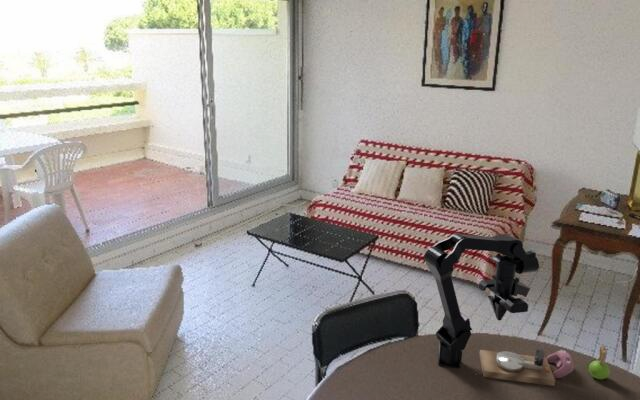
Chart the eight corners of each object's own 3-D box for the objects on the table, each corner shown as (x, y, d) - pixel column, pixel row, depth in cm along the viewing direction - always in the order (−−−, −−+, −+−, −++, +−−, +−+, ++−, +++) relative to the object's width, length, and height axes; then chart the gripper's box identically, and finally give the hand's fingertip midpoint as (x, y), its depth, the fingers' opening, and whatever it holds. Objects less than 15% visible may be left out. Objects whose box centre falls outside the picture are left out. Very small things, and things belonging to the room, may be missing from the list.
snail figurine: (589, 382, 150) (595, 346, 147) (586, 370, 156) (593, 336, 153) (609, 386, 148) (616, 350, 145) (606, 374, 154) (613, 339, 151)
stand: (483, 376, 151) (484, 369, 151) (479, 355, 163) (480, 348, 162) (554, 386, 148) (555, 378, 147) (544, 363, 159) (545, 356, 158)
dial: (496, 369, 151) (498, 350, 150) (495, 355, 159) (497, 337, 157) (543, 377, 148) (546, 358, 146) (540, 362, 155) (543, 344, 154)
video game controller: (565, 384, 151) (579, 367, 149) (551, 376, 151) (565, 359, 149) (556, 366, 161) (570, 350, 158) (544, 358, 161) (557, 342, 159)
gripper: (547, 285, 151) (539, 332, 155) (510, 262, 168) (504, 304, 172) (514, 287, 148) (507, 335, 152) (480, 264, 166) (474, 307, 170)
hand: (499, 319), depth 162 cm, fingers closed
